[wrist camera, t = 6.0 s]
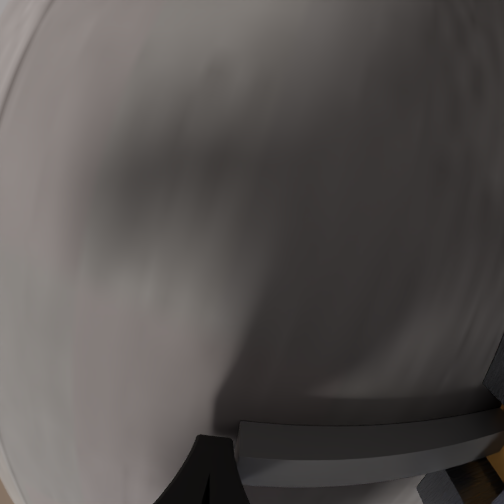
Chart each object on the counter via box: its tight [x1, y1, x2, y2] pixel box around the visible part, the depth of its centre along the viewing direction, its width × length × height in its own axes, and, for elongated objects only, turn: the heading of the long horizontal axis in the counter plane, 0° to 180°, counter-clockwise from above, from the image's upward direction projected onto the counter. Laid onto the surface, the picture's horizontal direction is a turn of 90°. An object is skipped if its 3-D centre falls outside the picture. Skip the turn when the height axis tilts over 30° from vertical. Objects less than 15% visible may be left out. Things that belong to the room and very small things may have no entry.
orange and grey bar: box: [234, 404, 504, 487], centre depth 9 cm, size 18×4×4 cm, turn 81°
